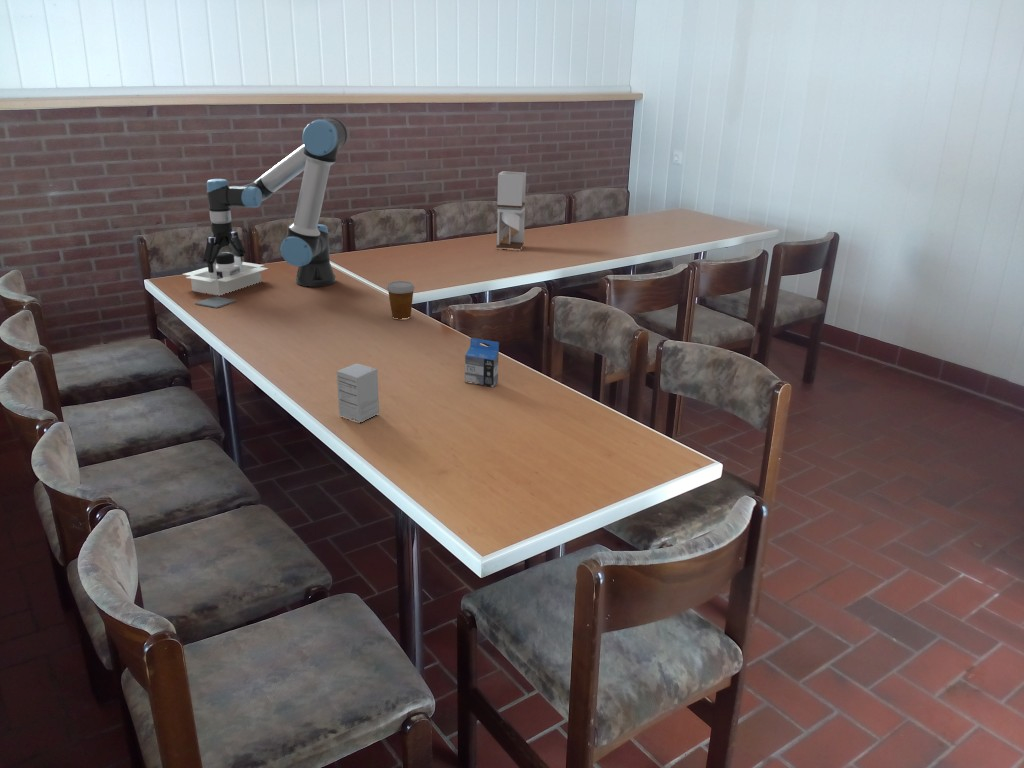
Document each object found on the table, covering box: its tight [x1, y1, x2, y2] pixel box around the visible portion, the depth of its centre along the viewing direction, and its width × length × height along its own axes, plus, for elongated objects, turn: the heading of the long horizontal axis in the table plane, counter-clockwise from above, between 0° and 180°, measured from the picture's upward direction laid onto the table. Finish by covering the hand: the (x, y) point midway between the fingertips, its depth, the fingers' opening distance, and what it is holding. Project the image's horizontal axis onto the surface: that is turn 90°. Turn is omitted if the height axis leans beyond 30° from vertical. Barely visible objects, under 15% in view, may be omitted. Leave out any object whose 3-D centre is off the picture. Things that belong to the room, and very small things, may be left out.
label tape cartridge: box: [464, 337, 500, 388], centre depth 229 cm, size 9×4×12 cm, turn 69°
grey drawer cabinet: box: [336, 363, 380, 422], centre depth 205 cm, size 7×7×13 cm
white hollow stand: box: [496, 170, 527, 250], centre depth 386 cm, size 11×11×35 cm
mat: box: [194, 295, 237, 309], centre depth 296 cm, size 10×10×1 cm
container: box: [215, 251, 240, 280], centre depth 314 cm, size 8×8×13 cm
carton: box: [182, 261, 269, 297], centre depth 315 cm, size 21×29×6 cm
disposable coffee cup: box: [386, 280, 415, 319], centre depth 283 cm, size 10×10×12 cm
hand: (226, 276), depth 315 cm, fingers open, 13 cm apart
